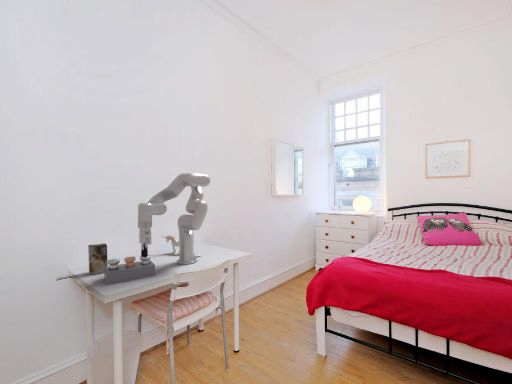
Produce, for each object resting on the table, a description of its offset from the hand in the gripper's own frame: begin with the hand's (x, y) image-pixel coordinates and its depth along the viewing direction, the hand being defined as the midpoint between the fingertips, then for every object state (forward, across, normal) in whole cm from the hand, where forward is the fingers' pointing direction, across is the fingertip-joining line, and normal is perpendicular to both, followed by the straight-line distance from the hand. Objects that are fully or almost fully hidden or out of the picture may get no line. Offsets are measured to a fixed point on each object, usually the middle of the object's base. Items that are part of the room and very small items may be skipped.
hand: (144, 256), depth 149 cm
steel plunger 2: (+6, 0, -1) cm, 6 cm away
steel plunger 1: (+6, 0, +15) cm, 17 cm away
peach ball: (+6, 0, +7) cm, 9 cm away
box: (+10, 0, +7) cm, 13 cm away
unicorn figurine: (+10, +33, -28) cm, 45 cm away
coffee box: (+11, +19, +21) cm, 30 cm away
